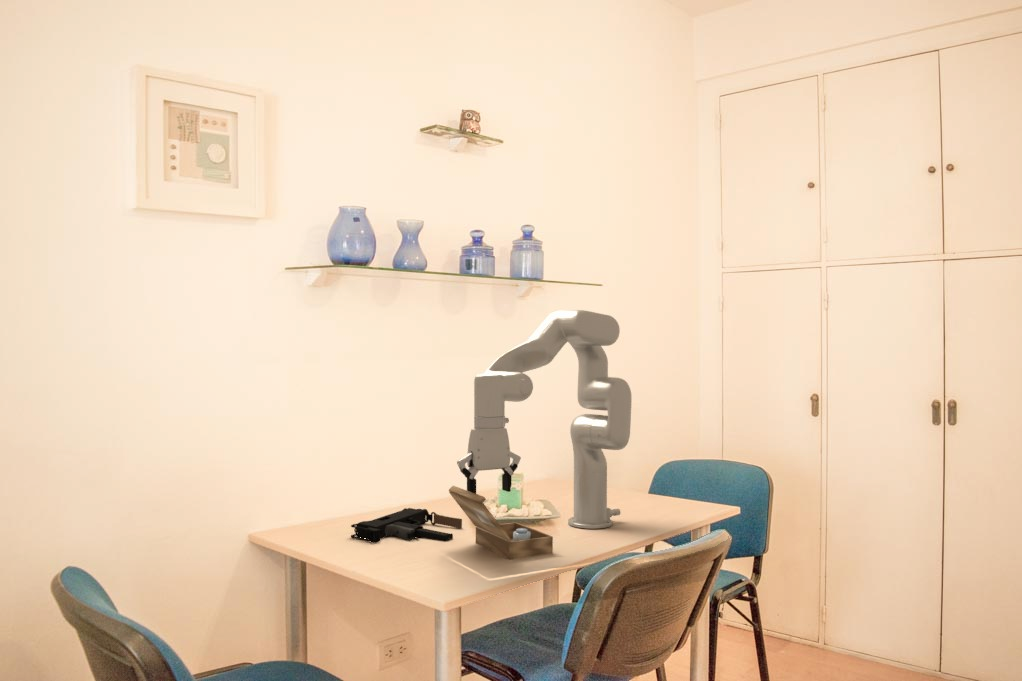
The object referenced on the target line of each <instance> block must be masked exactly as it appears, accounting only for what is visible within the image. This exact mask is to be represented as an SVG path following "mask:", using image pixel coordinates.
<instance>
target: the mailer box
mask: <svg viewBox="0 0 1022 681" xmlns="http://www.w3.org/2000/svg"><path fill="white" fill-rule="evenodd" d="M499 524H500V526H501V527H502V528H503V530H504V531H505V532H506V534H507V535H508V536H509V538H510V539H511V540H510V541H508V540H506V539H504V538H501V537H499V536H497V535H495V534H492V533H490V532H488V531H485V530H483V529H481V528H479V527H476V526H475V543H476V544H477V545H479V546H481V547H483V548H484V549H485V548H486V549H488V550H490V551H492V552H493V553H495V554H498V555H500V556H501V557H503V558H505V559H508V560H515V559H523V558H529V557H530V558H531V557H535V556H536V557H537V556H543V555H550V554H554V552H553V550H554V548H553V544H554V542H553V540H554V539H553V538H554V536H552V535H550V534H548V533H544V532H541V531H539V530H538V529H537V530H536V529H534V528H532V527H530V526H527V525H524V524H522V523H519V522H516V521H515V522H507V523H499ZM518 528H525V529H527V531H530V532H531V539H527V540H520V541H513V532H514V531H516V529H518Z"/></svg>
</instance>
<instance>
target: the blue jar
mask: <svg viewBox="0 0 1022 681" xmlns="http://www.w3.org/2000/svg"><path fill="white" fill-rule="evenodd" d="M527 539H531V532H530V531H527V529H525V528H518V529H516V531H514V532H513V541H520V540H527Z"/></svg>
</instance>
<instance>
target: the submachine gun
mask: <svg viewBox="0 0 1022 681" xmlns="http://www.w3.org/2000/svg"><path fill="white" fill-rule="evenodd" d="M429 521H430V524H431V525H434V526H435V525H436V524H437V525H440V526H447V527H452V528H456V529H462V528H463V519H462V518H458V517H452V516H451V517H450V516H447V515H443V514H441V515H440V514H437V513H436V512H435V511H432V512H430V513H429V511H428V510H427V509H426V508H422V509H421V508H412V507H408V508H403V509H402V510H398V511H396V512H393V513H390V514H387V515H384V516H380V517H377V518H375V519H371V520H362V521H360V522H357V523H354V524H351V525H350V527H351V528H353V530H354V534H351V535H350V538H352V539H357V540H361V541H367V542H369V541H371V542H370V543H374V542H375V543H377V542H376V541H380V542H381V539H384V538H387V537H389V535H390V536H394V537H395V536H396V537H399V538H401V539H403V540H408V541H413V540H415V539H428V540H435V541H440V542H448V541H450V540H453V539H454V536H453V535H454V534H453V533H448V532H443V531H439V530H435V529H428V528H424V527H423V526H422V525H425V524H426V523H427V522H429ZM386 536H387V537H386ZM360 537H361V538H360ZM383 537H384V538H383ZM364 538H366V539H364ZM380 538H381V539H380ZM412 539H413V540H412Z"/></svg>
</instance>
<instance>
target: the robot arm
mask: <svg viewBox="0 0 1022 681" xmlns="http://www.w3.org/2000/svg"><path fill="white" fill-rule="evenodd" d="M620 330H621V328H620V325H619V322H618V321H617V320H616V318H614V316H612V315H610V314H609V315H608V314H604V313H599V312H595V311H594V312H593V311H589V310H585V309H583V310H582V309H576V310H574V309H573V310H556V311H553V312H551V313H550V314H549V315H548V316H547V317H546V318H545V319H544V320H543V321H542V322H541V324H540V325H539V326H538V327H537V328H536V329H535V331H534V332H533V333H532V334H531V335H530V336H529V338H528V339H527V340H526V341H525V342H523V343H521V344H518V345H517V346H515V347H513V348H512V349H510V350H507V352H505V353H503V354H502V355H500V356H499V357H498V358H497V359H494V361H493V363H491V364H490V366H489V367H488V368H487V369H486V370H485V371H484V373H479V374H477V375H475V376H474V381H473V385H474V386H473V392H474V394H473V397H474V400H473V401H474V403H473V405H474V406H473V407H474V408H473V413H474V414H473V418H474V421H473V423H474V425H473V426H474V428H470V433H469V438H468V444H467V445H468V446H467V453H466V455H464V456H463V457H462V458H460V459H459V460H456V465H457V466H458V468H459V470H460V471H459V472H461V473H462V475H464V478H465V479H466V490H467V491H470V492H472V493H475V494H477V479H476V478H475V477H476V475H477V474H478V473H479V471H491V470H494V471H495V470H502V472H503V473H502V475H501V476H502V477H501V489H502V491H504V492H505V491H506V492H509V493H510V492H511V489H512V476H513V475H514V473H515V471H516V470H517V468H518V465H519V464H520V462H521V458H522V457H521V456H519V455H518V454H516V453H515V452H512V451H511V447H510V438H509V434H508V429H507V428H506V424H509V422H510V420H509V417H506V415H505V414H506V412H505V411H506V410H505V409H506V408H505V406H506V405H505V402H514V403H516V402H520V403H521V402H523V401H526V400H527V399H529V397H530V396H531V395H532V393H533V390H534V383H533V381H532V379H531V377H530V376H529V375H528V374H526V373H525V372H529V371H533V370H536V369H540V368H542V367H545V366H547V365H549V364H550V363H551V362H552V361H554V359H555V358H556V356H557V355H558V353H559V352H560V351H561V350H562V348H564V346H565V345H566V344H567V343H568V344H569V345H570V346H571V347H572V349H573V351H574V352H575V353H576V357H577V361H578V373H577V375H578V376H577V403H578V404H579V406H580V407H581V408H584V409H586V410H587V409H588V410H592V411H593V410H594V411H607V415H606V414H605V415H603V414H593V413H592V414H591V413H585V414H580V415H577V416H576V417H574V419H573V420H572V422H571V424H570V429H569V430H570V432H569V433H570V439H571V443H572V450H573V516H572V517H570V518H569V519H568V520H567V521H568V522H567V523H568V526H571V527H573V528H580V529H587V530H589V529H592V530H595V529H596V530H597V529H607V528H610V527H611V526H612V525H613V520H612V519H611V518H612V517H616V516H620V515H621V509H619V508H614V509H613V508H610V507H608V494H607V493H608V462H607V459H606V456H605V454H604V451H603V450H610V451H611V450H612V451H621V450H623V449H624V448H625V447H626V446H628V444H629V440H630V435H631V425H632V424H631V423H632V422H631V421H632V420H631V419H632V391H631V388H630V384H629V383H628V382H627V381H626V380H625V379H623V378H620V377H616V376H615V377H613V376H612V377H611V376H610V377H609V369H608V368H609V362H608V356H607V354H606V352H605V349H604V348H603V347H609V346H612V345H614V344H615V343H616V342H617V341H618V339H619V337H620V333H621V332H620ZM511 459H512V462H511ZM510 462H511V463H510ZM466 465H467V467H466Z"/></svg>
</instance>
